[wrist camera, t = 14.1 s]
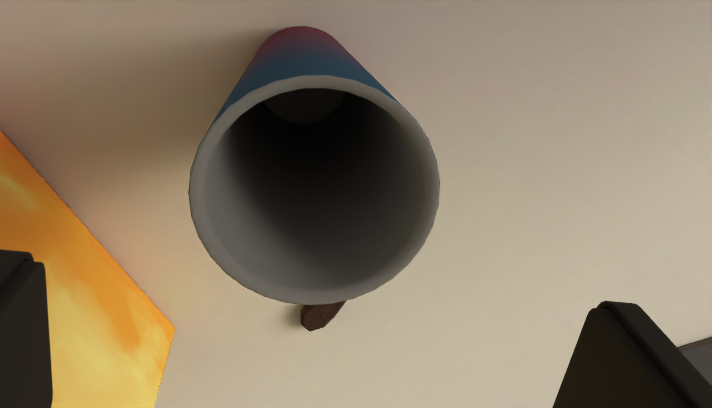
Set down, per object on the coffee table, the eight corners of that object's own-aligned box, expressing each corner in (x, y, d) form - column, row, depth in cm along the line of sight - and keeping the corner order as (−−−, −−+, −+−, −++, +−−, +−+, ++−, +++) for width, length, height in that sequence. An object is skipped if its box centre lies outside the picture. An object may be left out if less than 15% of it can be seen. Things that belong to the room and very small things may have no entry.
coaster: (623, 363, 40) (627, 368, 40) (768, 320, 40) (774, 324, 39) (635, 465, 44) (638, 470, 44) (766, 426, 44) (771, 431, 44)
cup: (394, 48, 30) (487, 145, 16) (331, 164, 32) (366, 336, 18) (268, -21, 28) (253, 25, 14) (210, 108, 30) (149, 253, 16)
